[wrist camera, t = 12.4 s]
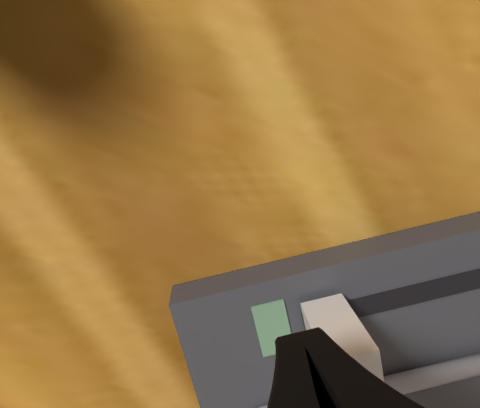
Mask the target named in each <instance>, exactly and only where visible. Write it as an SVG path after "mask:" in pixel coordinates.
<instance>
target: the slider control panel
mask: <svg viewBox="0 0 480 408" xmlns="http://www.w3.org/2000/svg"><path fill="white" fill-rule="evenodd" d="M340 293H342V295H343V296H344V298H345V299H346V301H347V302H348V304H349V305H350V307H351V308H352V310H353V311H354V313H355V314H356V316H357V317H358V319H359V320H360V322H361V323H362V325H363V326H364V327H365V329H366V330H367V332H368V333H369V335H370V336H371V338H372V339H373V341H374V342H375V344H376V345H377V347H378V348H379V351H380V357H381V364H382V370H383V377H384V382H385V383H386V384H388V385H389V386H391V387H392V388H394V389H395V390H397V391H398V392H400V393H401V394H403V395H404V396H406V397H408V398H409V399H411V400H413V401H414V402H416V403H418V404H419V405H421V406H423V407H425V408H480V212H476V213H472V214H468V215H464V216H460V217H455V218H451V219H447V220H443V221H439V222H435V223H431V224H426V225H422V226H418V227H414V228H410V229H406V230H402V231H397V232H393V233H389V234H385V235H381V236H377V237H373V238H368V239H364V240H360V241H356V242H352V243H348V244H344V245H339V246H335V247H331V248H327V249H323V250H319V251H315V252H310V253H306V254H302V255H298V256H294V257H290V258H286V259H282V260H277V261H273V262H269V263H265V264H261V265H257V266H253V267H248V268H244V269H240V270H236V271H232V272H228V273H224V274H219V275H215V276H211V277H207V278H203V279H199V280H195V281H190V282H186V283H182V284H178V285H174V286H172V292H171V297H170V302H169V307H170V310H171V314H172V317H173V320H174V323H175V327H176V330H177V333H178V336H179V340H180V343H181V346H182V349H183V353H184V356H185V359H186V362H187V366H188V369H189V372H190V375H191V379H192V382H193V385H194V388H195V392H196V395H197V398H198V401H199V405H200V408H267V406H268V402H269V397H270V393H271V388H272V383H273V376H274V370H275V359H276V347H275V340H276V339H277V337H280V336H284V335H288V334H292V333H296V332H301V331H305V330H306V329H305V324H304V319H303V314H302V310H301V305H300V303H303V302H307V301H312V300H316V299H320V298H324V297H328V296H332V295H336V294H340Z"/></svg>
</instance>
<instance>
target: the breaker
mask: <svg viewBox="0 0 480 408" xmlns="http://www.w3.org/2000/svg"><path fill="white" fill-rule="evenodd" d="M300 305H301V310H302V314H303V319H304V324H305V329H306V330H309V329H313V328H317V327H319V328H321V329H322V330H324V332H325V333H326V334H327V335H328V336H329V337H330V338H331V339H332V340H333V341H334V342H335V343H337V344H338V345H339V346H340V347H341V348H342V349H343V350H344V351H345V352H346V353H348V354H349V355H350V356H351V357H352V358H354V359H355V360H356V361H357V362H358V363H360V364H361V365H362V366H363V367H365V368H366V369H367V370H368V371H370V372H371V373H372V374H374V375H375V376H376V377H378V378H379V379H381V380H382V381H383V382H384V377H383V370H382V364H381V357H380V351H379V348H378V347H377V345H376V344H375V342H374V341H373V339H372V338H371V336H370V335H369V333H368V332H367V330H366V329H365V327H364V326H363V325H362V323H361V322H360V320H359V319H358V317H357V316H356V314H355V313H354V311H353V310H352V308H351V307H350V305H349V304H348V302H347V301H346V299H345V298H344V296H343V295H342V293H340V294H336V295H332V296H328V297H324V298H320V299H316V300H312V301H307V302H303V303H300Z"/></svg>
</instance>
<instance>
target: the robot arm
mask: <svg viewBox="0 0 480 408" xmlns="http://www.w3.org/2000/svg"><path fill="white" fill-rule="evenodd" d="M275 347H276V359H275V370H274V376H273V383H272V388H271V393H270V397H269V402H268V406H267V408H425V407H423V406H421V405H419V404H418V403H416V402H414V401H413V400H411V399H409V398H408V397H406V396H404V395H403V394H401V393H400V392H398V391H397V390H395V389H394V388H392V387H391V386H389V385H388V384H386V383H385V382H383V381H382V380H381V379H379V378H378V377H376V376H375V375H374V374H372V373H371V372H370V371H368V370H367V369H366V368H365V367H363V366H362V365H361V364H360V363H358V362H357V361H356V360H355V359H354V358H352V357H351V356H350V355H349V354H348V353H346V352H345V351H344V350H343V349H342V348H341V347H340V346H339V345H338V344H337V343H335V342H334V341H333V340H332V339H331V338H330V337H329V336H328V335H327V334H326V333H325V332H324V330H322V329H321V328H319V327H317V328H313V329H309V330H305V331H301V332H296V333H292V334H288V335H284V336H280V337H277V339H276V340H275Z"/></svg>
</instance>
